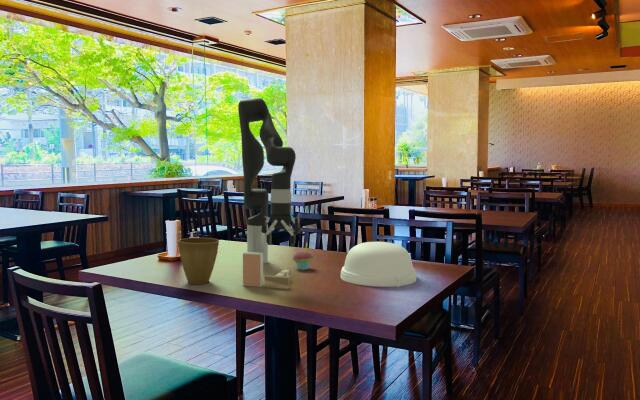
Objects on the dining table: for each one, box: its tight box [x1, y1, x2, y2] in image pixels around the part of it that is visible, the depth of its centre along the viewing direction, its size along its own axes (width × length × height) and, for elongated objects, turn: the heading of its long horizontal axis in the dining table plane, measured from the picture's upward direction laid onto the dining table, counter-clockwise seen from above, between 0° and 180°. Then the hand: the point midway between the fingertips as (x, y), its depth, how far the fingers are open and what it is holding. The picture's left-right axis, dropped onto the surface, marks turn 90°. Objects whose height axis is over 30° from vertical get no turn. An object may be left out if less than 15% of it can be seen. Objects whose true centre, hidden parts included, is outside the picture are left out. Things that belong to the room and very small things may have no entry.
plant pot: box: [177, 237, 220, 285], centre depth 195 cm, size 15×15×16 cm
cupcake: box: [292, 240, 314, 271], centre depth 222 cm, size 9×8×12 cm
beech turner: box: [263, 269, 291, 290], centre depth 194 cm, size 14×9×4 cm, turn 167°
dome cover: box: [340, 241, 417, 288], centre depth 206 cm, size 32×30×14 cm
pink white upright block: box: [242, 251, 264, 287], centre depth 191 cm, size 3×7×12 cm, turn 77°
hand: (280, 245), depth 192 cm, fingers open, 8 cm apart
